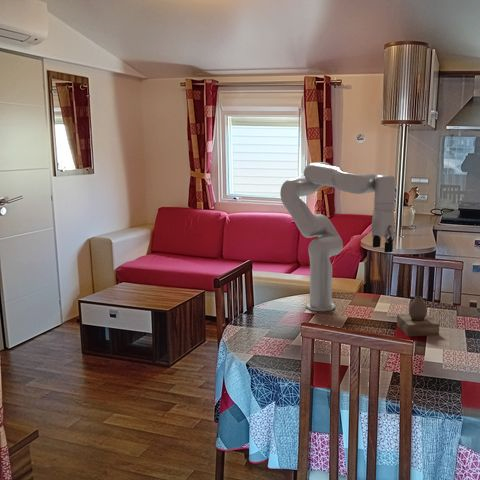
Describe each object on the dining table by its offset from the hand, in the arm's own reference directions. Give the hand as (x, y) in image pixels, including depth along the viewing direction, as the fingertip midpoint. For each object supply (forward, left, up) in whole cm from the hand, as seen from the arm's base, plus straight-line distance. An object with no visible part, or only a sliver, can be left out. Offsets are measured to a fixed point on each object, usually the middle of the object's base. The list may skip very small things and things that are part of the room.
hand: (382, 249), depth 215 cm
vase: (+12, +10, -26) cm, 30 cm away
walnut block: (+12, +10, -31) cm, 35 cm away
